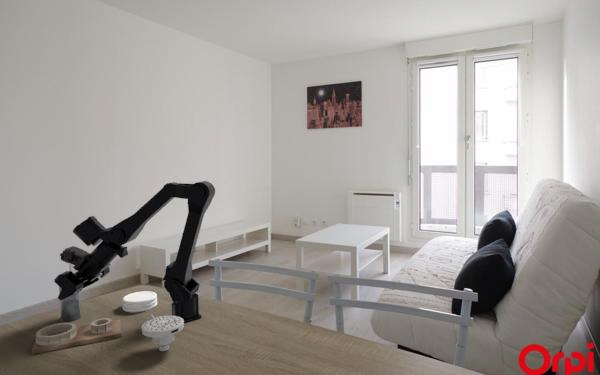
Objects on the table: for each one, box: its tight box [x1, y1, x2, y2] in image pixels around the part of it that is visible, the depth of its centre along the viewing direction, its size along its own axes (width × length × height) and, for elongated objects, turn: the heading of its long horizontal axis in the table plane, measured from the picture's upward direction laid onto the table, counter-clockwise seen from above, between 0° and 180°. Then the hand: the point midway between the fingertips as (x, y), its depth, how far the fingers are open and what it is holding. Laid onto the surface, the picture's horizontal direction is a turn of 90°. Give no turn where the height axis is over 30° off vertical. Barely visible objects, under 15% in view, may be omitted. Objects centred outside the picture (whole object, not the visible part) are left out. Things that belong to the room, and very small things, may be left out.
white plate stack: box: [121, 290, 158, 314], centre depth 121 cm, size 10×10×4 cm
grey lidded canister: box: [58, 286, 81, 323], centre depth 112 cm, size 5×5×12 cm
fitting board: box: [31, 317, 122, 355], centre depth 100 cm, size 19×10×3 cm, turn 116°
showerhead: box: [141, 314, 185, 352], centre depth 93 cm, size 9×7×10 cm
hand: (64, 295), depth 112 cm, fingers closed on grey lidded canister, 5 cm apart
